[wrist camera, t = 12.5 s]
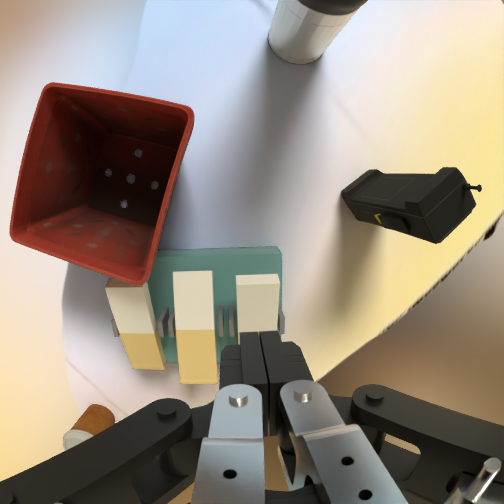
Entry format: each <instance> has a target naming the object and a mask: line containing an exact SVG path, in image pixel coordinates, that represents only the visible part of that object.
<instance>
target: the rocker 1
mask: <svg viewBox="0 0 504 504" xmlns="http://www.w3.org/2000/svg"><path fill="white" fill-rule="evenodd" d="M105 290H106V294H107V297H108V300H109V303H110V307H111V310H112V313H113V316H114V319H115V322H116V325H117V328H118V331H119V334H120V337H121V339H122V342H123V345H124V348H125V350H126V353H127V356H128V358H129V361H130V364H131V366H132V369H152V370H164V369H165V363H166V358H165V354H164V351H163V347H162V343H161V339H160V336H159V331H158V327H157V323H156V319H155V315H154V311H153V307H152V302H151V298H150V293H149V289H148V284H147V282H146V283H145V284H143V285H140V286H136V285H133V284H130V283H127V282H124V281H121V280H118V279H115V278H109V280H108V282H107V284H106V286H105Z"/></svg>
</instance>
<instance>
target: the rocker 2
mask: <svg viewBox="0 0 504 504" xmlns="http://www.w3.org/2000/svg"><path fill="white" fill-rule="evenodd" d="M173 288H174V308H175V324H176V338H177V351H178V363H179V374H180V384H218V365H217V349H216V332H215V312H214V290H213V271H180V272H173Z"/></svg>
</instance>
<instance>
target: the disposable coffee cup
mask: <svg viewBox="0 0 504 504" xmlns="http://www.w3.org/2000/svg"><path fill="white" fill-rule="evenodd" d="M114 422H115V417H114V415H113V413H112V412H111V411H110V410H109V409H107V408H106V407H104V406H102V405H98V404H93V405H90V406H89V407H88V409H87V410H86V411H85V412H84V413H83V415H82V416H81V417H80V418H79V420H78V421H77V422H76V423H75V425H74V426H73V427H72V428H71V430H70V431H68V432H66V433H65V435H64V436H63V446H64V449H65V451H66V450H68V449H70V448H72V447H74V446H76V445H77V444H79V443H81V442H83V441H85V440H87V439H89V438H91V437H92V436H94V435H96V434H98V433H100V432H102V431H103V430H105V429H107V428H109V427H111V426H112V425H114Z"/></svg>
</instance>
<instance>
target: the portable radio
mask: <svg viewBox="0 0 504 504" xmlns="http://www.w3.org/2000/svg"><path fill="white" fill-rule="evenodd" d="M470 189H475V190H478V192H480V191H481V190H482V187H481V185H478V186H471V185H470V184H468V183H467V181H466V179H465V178H464V176H463V175H462V173H461V172H460V171H459V170H458V169H457V168H456V167H443V168H442V169H440V170H439V171H438V172H437V173H436V174H384V173H382V172H380V171H379V170H377V169H374V170H368V171H367V172H365V173H364V174H363V175H361V176H360V177H359V178H358V179H356V180H355V181H354V182H352V183H351V184H350V185H349V186H347V187H346V188H345V189H343V190H342V191H341V192H342V196H343V199H344V200H345V202H346V204H347V205H348V207H349V208H350V210H351V211H352V213H353V214H354V216H355V217H356V219H357V220H359V221H363V222H368V223H372V224H376V225H379V226H382V227H384V228H387V229H392V230H395V231H398V232H402V233H405V234H408V235H411V236H414V237H417V238H420V239H423V240H426V241H429V242H432V243H435V244H437V243H441V242H442V241H443V240H444V239H445V238H446V237H447V236H448V235H449V234H450V233H451V232H452V231H453V230H454V229H455V228H456V227H457V226H458V225H459V224H460V223H461V222H462V221H463V220H464V219H465V218H466V217H467V216H468V215H469V214H470V213H471V212H472V209H473V208H474V207H475V206H476V202H475V200H474V198H473V195H472V193H471V191H470Z"/></svg>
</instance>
